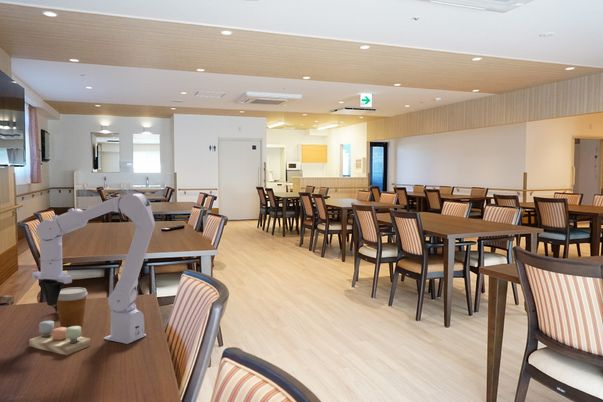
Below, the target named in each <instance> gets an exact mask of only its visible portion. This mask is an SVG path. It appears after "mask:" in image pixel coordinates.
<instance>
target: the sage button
mask: <svg viewBox="0 0 603 402" xmlns="http://www.w3.org/2000/svg"><path fill="white" fill-rule="evenodd" d="M79 337H82V327H80V326H72V327H68V328H66V338H67V339H70V344H75V343H77V338H79Z"/></svg>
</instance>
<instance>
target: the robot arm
mask: <svg viewBox="0 0 603 402" xmlns="http://www.w3.org/2000/svg"><path fill="white" fill-rule="evenodd" d="M111 212H114V213H121V212H122V214H124V216H126V217H127V218H129V219H130V220H131V221H132V223H133V225H134V227H135V230H134V234H133V236H132V240H131V243H130V247H129V249H128V252H127V256H126V259H125V262H124V265H123V269H122V271H121V274H120V277H119V278H118V281H117V283H116V285H115V287H114V289H113V291H112V292H111V293H110V294H109V295H108V297H107V304H108V307H109V308H110V309H109V310H110V334H109V335H107V336H103V340H107V341H113V342H117V343H122V344H126V345H128V344H130V343H133V342H134V341H137V340H139V339H142V338H144V337H146V336H147V334H146V333H145V314H144V312H143V311H141V310H139V309H138V308H137V305H136V303H135V301H136V299H137V297H138V294H139V293H138V285H139V280H138V279H139V276H140V272H141V269H142V268H143V263H144V260H145V257H146V253H147V252H148V248H149V245H150V243H151V239H152V235H153V233H154V229H155V227H156V222H155V218H154V213H153V210H152V203H151V201H150V200H149V199H148V197H147V196H146V195H144V194H143V193H140V192H136V193H127V194H125V195H121V196H117V197H112V198H109V199H106V200H104V201H102V202H100V203H99V204H95V205H93V206H91V207H89V208H87V209H81V208H74V207H71V208H69V209H67V212H65V213H62V214H60V215H58V214H55V215H53V216H52V218H51V219H43V220H42V221H41V222H40V223H38V225H37V226H36V231H35V232H36V235H37V236H38V237H39V238H40V239H39V241H40V242H39V244H40V245H39V247H40V250H39V251H40V252H39V253H40V255H39V256H40V258H39V259H40V271H34V272H32V273H31V279H33V280H41V281H40V282H39V283H38V286H39V287H40V289H41V291H42V292H43V295H44V297H45V301H46V304H47V306H50V307H52V305H55V304H57V301H58V297H59V294H60V291H61V289H63V287H64V285H65V284H72V282H73V275H69V274H67V273H64V272H63V236H64V235H67V234H68V233H72V232H73V231H76V230H79V229H81V228H83V227H86V226H87V224H88V222H89V220H92V219H95V218H97V217H100V216H102V215H105V214H109V213H111Z"/></svg>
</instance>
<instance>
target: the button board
mask: <svg viewBox="0 0 603 402" xmlns="http://www.w3.org/2000/svg"><path fill="white" fill-rule="evenodd" d="M91 340H92V339H91V338H90V337H84V336H81V337H79V338H77V343H75V344H70V339H67V338H65V339H64V340H61V341H57V340H54V339H53V333H52V332H50V337H48V338H43V334H41V335H38V336H35V337H33V338H30V339H29V341H28V342H29V347H30V348H34V349H37V350H38V349H39V350H43V351H48V352H52V353H54V354H55V353H56V354H61V355H63V356H64V355H65V356H68V355H71V354H73V353H75V352H78V351H80V350H83V349H85V348H88V347H91V345H92V342H91Z"/></svg>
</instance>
